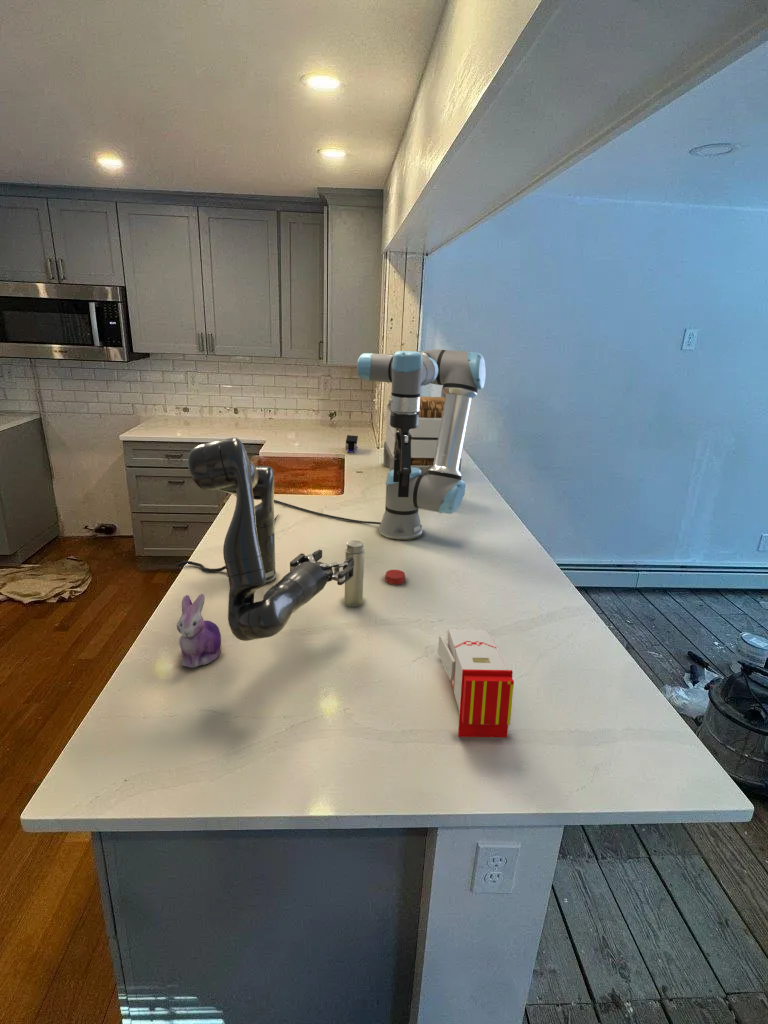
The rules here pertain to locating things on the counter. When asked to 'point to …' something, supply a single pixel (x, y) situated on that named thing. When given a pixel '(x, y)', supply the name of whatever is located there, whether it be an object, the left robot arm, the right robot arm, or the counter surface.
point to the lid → (395, 577)
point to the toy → (478, 682)
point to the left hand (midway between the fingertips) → (336, 556)
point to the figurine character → (351, 443)
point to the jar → (355, 574)
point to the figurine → (197, 634)
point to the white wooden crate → (419, 433)
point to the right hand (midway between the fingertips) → (400, 489)
